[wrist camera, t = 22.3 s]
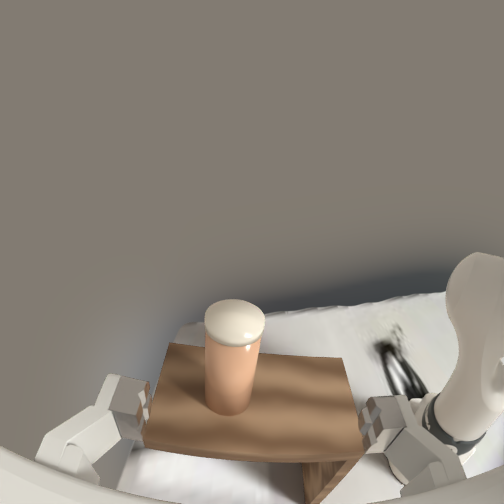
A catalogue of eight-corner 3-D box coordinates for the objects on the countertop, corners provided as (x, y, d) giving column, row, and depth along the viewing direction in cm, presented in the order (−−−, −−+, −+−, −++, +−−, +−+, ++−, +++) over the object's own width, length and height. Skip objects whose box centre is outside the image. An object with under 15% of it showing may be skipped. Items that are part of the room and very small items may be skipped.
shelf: (315, 507, 37) (366, 450, 28) (161, 498, 36) (142, 438, 27) (306, 434, 50) (341, 357, 41) (175, 423, 49) (169, 342, 40)
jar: (225, 373, 37) (232, 292, 31) (260, 397, 34) (276, 318, 28) (194, 397, 33) (192, 316, 27) (229, 425, 30) (238, 347, 24)
